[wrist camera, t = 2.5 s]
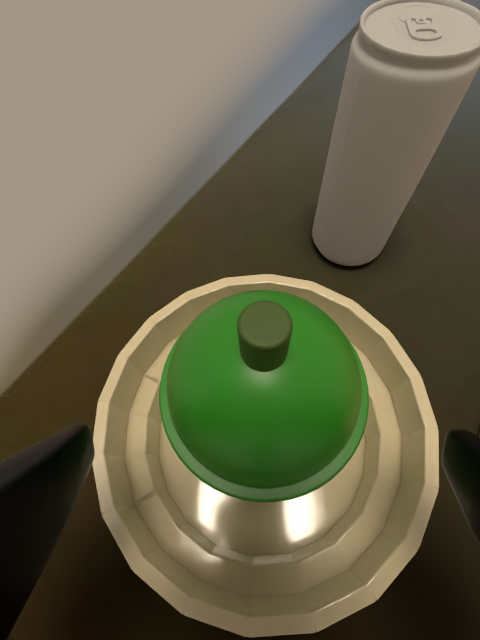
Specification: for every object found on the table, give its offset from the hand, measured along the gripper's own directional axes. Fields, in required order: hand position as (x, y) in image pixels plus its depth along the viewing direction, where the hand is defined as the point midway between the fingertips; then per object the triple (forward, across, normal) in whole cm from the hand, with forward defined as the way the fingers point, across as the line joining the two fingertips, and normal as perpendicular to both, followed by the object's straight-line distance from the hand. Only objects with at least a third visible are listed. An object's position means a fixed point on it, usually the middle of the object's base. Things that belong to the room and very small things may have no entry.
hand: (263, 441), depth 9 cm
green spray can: (+7, 0, +5) cm, 9 cm away
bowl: (+8, 0, +6) cm, 9 cm away
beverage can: (+17, -6, -3) cm, 18 cm away
